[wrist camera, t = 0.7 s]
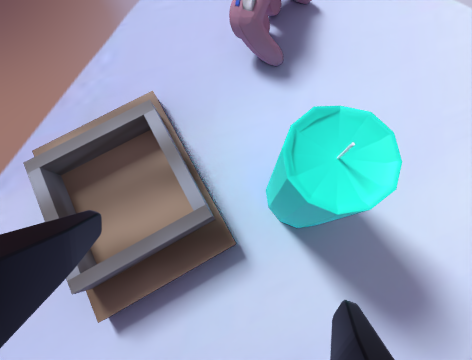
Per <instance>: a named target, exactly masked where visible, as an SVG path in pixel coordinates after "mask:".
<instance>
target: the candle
mask: <svg viewBox="0 0 472 360" xmlns="http://www.w3.org/2000/svg"><path fill="white" fill-rule="evenodd" d="M401 164H402V160H401V156H400V152H399V149H398V145H397V142H396V138H395V135H394V132H393V131H392V130H390V129H389V128H388V127H387V126H386V125H385V124H384V123H383V122H382V121H381V120H380V119H378V118H377V117H376V116H375V115H374V114H373V113H372V112H369V111H364V110H359V109H354V108H349V107H344V106H318V107H313V108H312V109H310V110H309V111H308V112H307V113H306V114H304V115H303V116H302V117H301V118H299V119H298V120H297V121H296V122H295V123H293V124H292V125H291V127H290V129H289V132H288V134H287V137H286V139H285V142H284V145H283V147H282V150H281V152H280V155H279V158H278V160H277V163H276V165H275V168H274V170H273V173H272V176H271V178H270V181H269V183H268V186H267V189H266V195H267V201H268V206H269V208H270V210H271V211H272V212H273V213H274V215H275V216H276V217H277V218H278V219H279V221H280V222H283V223H285V224H288V225H290V226H293V227H295V228H302V227H309V226H315V225H319V224H322V223H326V222H329V221H333V220H336V219H340V218H343V217H347V216H350V215H354V214H357V213H361V212H364V211H368V210H371V209H372V208H373V207H374V206H376V205H377V204H378V203H379V202H381V201H382V200H383V199H384V198H386V197H387V196H388V195H390V194H391V193H392V192H393V191H395V190H396V188H397V183H398V178H399V174H400V169H401Z"/></svg>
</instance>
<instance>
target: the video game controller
mask: <svg viewBox="0 0 472 360" xmlns="http://www.w3.org/2000/svg"><path fill="white" fill-rule="evenodd" d="M295 1H297V2H299V3H302V4H307V3H309V2H310V1H311V0H295ZM280 9H281V0H233V1H232V3H231V6H230V13H229V17H230V25H231V28H232V30H233V32H234V34H235V35H236V36H237V37H238V38H241V39H242V40H243V42H244V43H245V44H246V45H247V46H248V47H249V49H250V50H251V51H252V52H253V53H254V54H255V55H256V56H258V57H259V58H260V59H261V60H263V61H264V62H266V63H268V64H270V65H273V66H278V65H280V64H281V63H282V62H283V53H282V51H281V49H280V47H279V46H278V44H277V43H276V42H275V41H274V40H273V38H272V37H271V36H270V35H269V29H270V22H269V18H268V16H274V15H277V14H278V13H279V12H280Z"/></svg>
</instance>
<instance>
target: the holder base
mask: <svg viewBox="0 0 472 360" xmlns="http://www.w3.org/2000/svg"><path fill="white" fill-rule="evenodd" d="M32 152H33V154H34V158H32V159H30V160H28V161H26V162H24V166H25V169H26V171H27V174H28V177H29V179H30V182H31V185H32V188H33V190H34V193H35V196H36V198H37V201H38V204H39V207H40V209H41V212H42V215H43V217H44V220H45V222H47V221H51V220H55V219H58V218H62V217H65V216H69V215H73V214H76V213H80V212H83V211H87V210H93V211H96V212H98V213H100V214H101V216H102V232H101V235H100V236H99V238H98V239H97V240H96V242H95V243H94V244H93V246H92V247H91V248H90V249H89V251H88V252H87V253H86V255H85V256H84V257H83V259H82V260H81V261H80V262H79V264H78V265H77V266H76V268H75V269H74V270H73V271H72V272H71V273H70V274H69V276H68V277H67V278H66V280H67V282H68V285H69V288H70V290H71V293H72V294H76V293H79V292H83V291H86V292H87V295H88V298H89V300H90V303H91V306H92V308H93V311H94V313H95V316H96V319H97V321H98V323H99V322H101V321H103V320H105V319H107V318H108V317H110V316H112V315H114V314H115V313H117V312H119V311H121V310H122V309H124V308H126V307H128V306H129V305H131V304H133V303H134V302H136V301H138V300H140V299H141V298H143V297H145V296H147V295H148V294H150V293H152V292H154V291H155V290H157V289H159V288H161V287H162V286H164V285H166V284H167V283H169V282H171V281H173V280H174V279H176V278H178V277H180V276H181V275H183V274H185V273H187V272H188V271H190V270H192V269H194V268H195V267H197V266H199V265H200V264H202V263H204V262H206V261H207V260H209V259H211V258H213V257H214V256H216V255H218V254H220V253H221V252H223V251H225V250H227V249H228V248H230V247H232V246H233V245H235V244H236V242H235V240H234V239H233V237H232V235H231V233H230V231H229V229H228V228H227V226H226V224H225V222H224V220H223V218H222V216H221V215H220V213H219V211H218V209H217V207H216V205H215V204H214V202H213V200H212V198H211V196H210V194H209V193H208V191H207V189H206V187H205V185H204V183H203V182H202V180H201V178H200V176H199V174H198V172H197V171H196V169H195V167H194V165H193V163H192V161H191V159H190V158H189V156H188V154H187V152H186V150H185V148H184V147H183V145H182V143H181V141H180V139H179V137H178V136H177V134H176V132H175V130H174V128H173V126H172V125H171V123H170V121H169V119H168V117H167V115H166V114H165V112H164V110H163V108H162V106H161V104H160V102H159V101H158V99H157V97H156V95H155V94H154V92H153V91H151V92H149V93H147V94H145V95H143V96H141V97H139V98H137V99H135V100H133V101H131V102H129V103H127V104H125V105H123V106H121V107H119V108H117V109H115V110H113V111H111V112H109V113H107V114H105V115H103V116H101V117H99V118H97V119H95V120H93V121H91V122H89V123H87V124H85V125H83V126H81V127H79V128H77V129H75V130H73V131H71V132H69V133H67V134H65V135H63V136H61V137H59V138H57V139H55V140H53V141H51V142H49V143H47V144H45V145H43V146H41V147H39V148H37V149H35V150H33V151H32Z"/></svg>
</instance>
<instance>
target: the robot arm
mask: <svg viewBox="0 0 472 360" xmlns="http://www.w3.org/2000/svg"><path fill="white" fill-rule="evenodd" d="M101 232H102V216H101V214H100V213H98V212H96V211H93V210H87V211H83V212H80V213H76V214H73V215H69V216H65V217H62V218H58V219H55V220H51V221H47V222H44V223H40V224H37V225H33V226H29V227H26V228H22V229H19V230H15V231H12V232H8V233H4V234H1V235H0V348H1V347H2V346H3V345H4V344H5V343H6V342H7V341H8V340H9V338H10V337H11V336H12V335H13V334H14V333H15V332H16V331H17V330H18V329H19V328H20V327H21V326H22V325H23V324H24V322H25V321H26V320H27V319H28V318H29V317H30V316H31V315H32V314H33V313H34V312H35V311H36V310H37V309H38V308H39V306H40V305H41V304H42V303H43V302H44V301H45V300H46V299H47V298H48V297H49V296H50V295H51V294H52V293H53V292H54V290H55V289H56V288H57V287H58V286H59V285H60V284H61V283H62V282H63V281H64V280H65V279H66V278H67V277H68V276H69V274H70V273H71V272H72V271H73V270H74V269H75V268H76V266H77V265H78V264H79V262H80V261H81V260H82V259H83V257H84V256H85V255H86V253H87V252H88V251H89V249H90V248H91V247H92V246H93V244H94V243H95V242H96V240H97V239H98V238H99V236H100V235H101ZM330 360H394V358H393V357H392V355H391V354H390V352H389V351H388V349H387V348H386V346H385V345H384V343H383V342H382V340H381V339H380V337H379V336H378V334H377V333H376V331H375V330H374V328H373V327H372V325H371V324H370V323H369V321H368V320H367V318H366V317H365V315H364V314H363V312H362V311H361V309H360V308H359V306H358V305H357V304H356V303H353V302H350V301H347V300H344V301H342V303H341V304H340V306H339V307H338V309H337V311H336V312H335V314H334V316H333V320H332V336H331V357H330Z"/></svg>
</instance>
